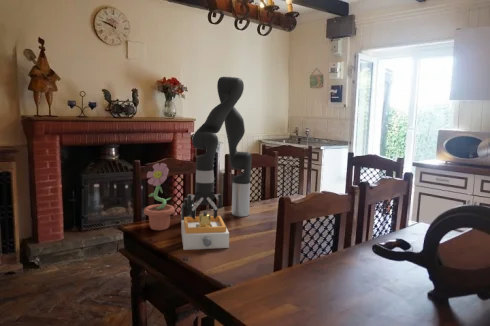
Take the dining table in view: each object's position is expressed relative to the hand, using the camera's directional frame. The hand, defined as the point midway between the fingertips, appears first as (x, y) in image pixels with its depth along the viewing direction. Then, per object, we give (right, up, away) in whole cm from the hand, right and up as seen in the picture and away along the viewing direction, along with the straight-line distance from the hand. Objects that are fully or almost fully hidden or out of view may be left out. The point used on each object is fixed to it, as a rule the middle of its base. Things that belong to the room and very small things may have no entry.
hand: (204, 218), depth 159 cm
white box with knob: (0, -10, 0) cm, 10 cm away
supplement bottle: (-10, -6, +24) cm, 27 cm away
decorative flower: (-23, -7, +16) cm, 28 cm away
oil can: (0, -7, +1) cm, 7 cm away
